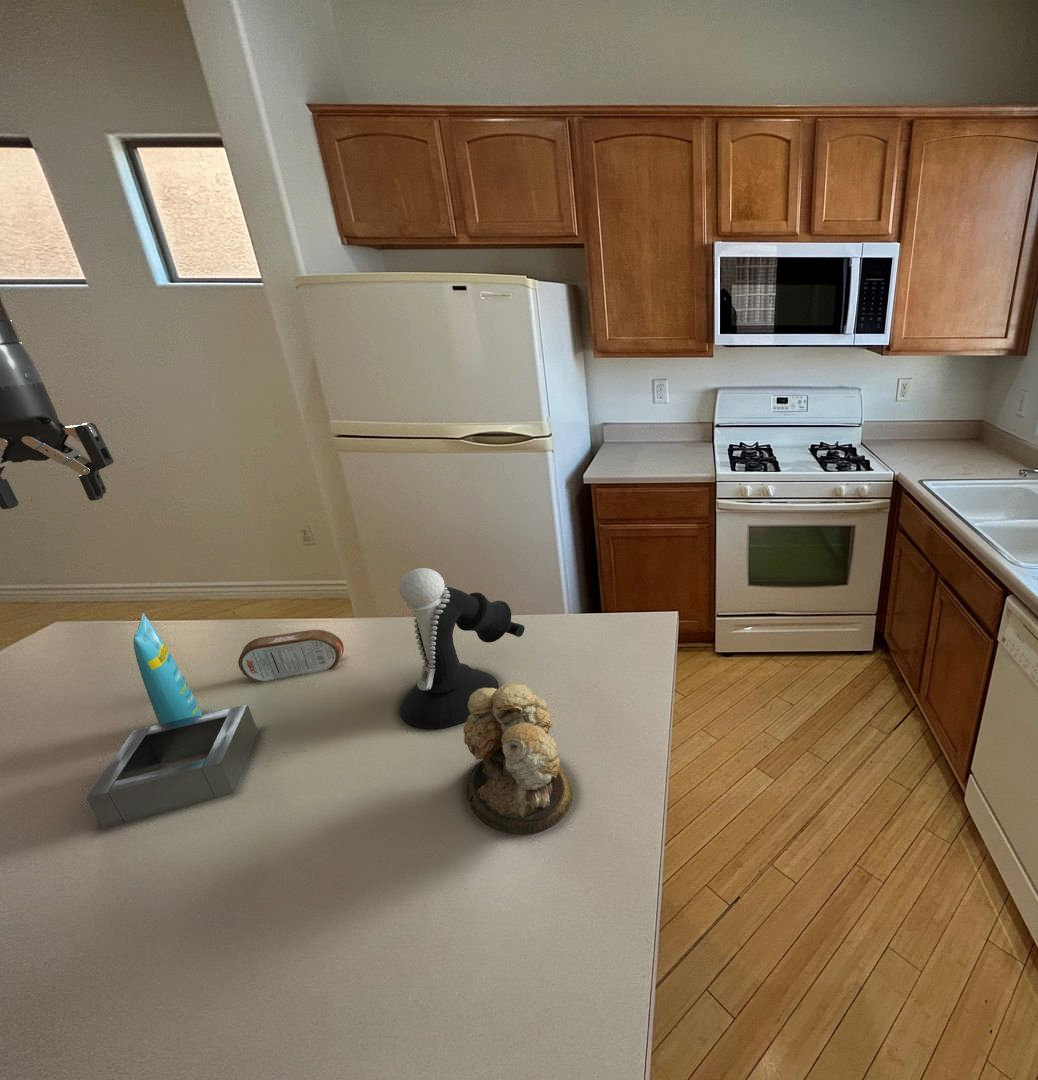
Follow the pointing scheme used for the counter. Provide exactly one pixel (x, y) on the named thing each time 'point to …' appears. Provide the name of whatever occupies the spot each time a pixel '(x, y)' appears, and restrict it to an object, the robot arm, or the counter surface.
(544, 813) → the owl figurine
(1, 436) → the robot arm
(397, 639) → the counter surface
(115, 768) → the stand
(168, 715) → the tube
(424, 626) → the sculpture
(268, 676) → the tin
